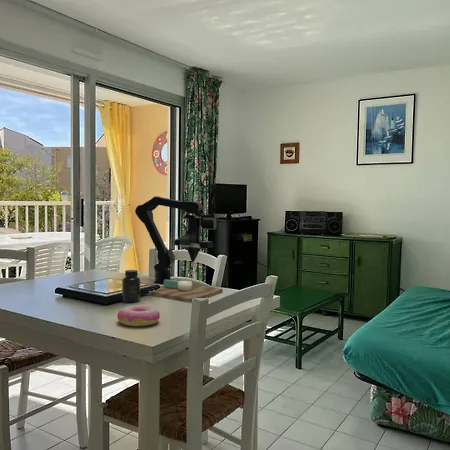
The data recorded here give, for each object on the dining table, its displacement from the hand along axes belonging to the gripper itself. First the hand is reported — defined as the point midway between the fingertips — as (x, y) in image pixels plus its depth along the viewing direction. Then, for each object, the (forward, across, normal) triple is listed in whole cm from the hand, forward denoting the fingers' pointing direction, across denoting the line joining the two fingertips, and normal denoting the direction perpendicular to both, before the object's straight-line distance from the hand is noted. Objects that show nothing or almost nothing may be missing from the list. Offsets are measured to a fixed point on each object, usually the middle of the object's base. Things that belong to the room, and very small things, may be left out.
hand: (192, 261), depth 211 cm
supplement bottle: (+11, -2, -40) cm, 42 cm away
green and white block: (+9, +3, -17) cm, 19 cm away
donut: (+12, +20, -61) cm, 65 cm away
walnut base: (+11, +7, -16) cm, 21 cm away
